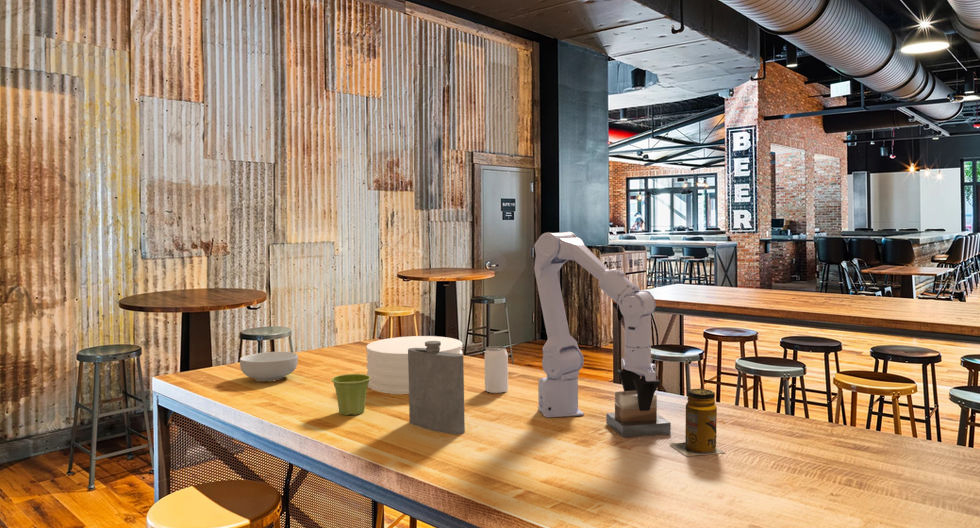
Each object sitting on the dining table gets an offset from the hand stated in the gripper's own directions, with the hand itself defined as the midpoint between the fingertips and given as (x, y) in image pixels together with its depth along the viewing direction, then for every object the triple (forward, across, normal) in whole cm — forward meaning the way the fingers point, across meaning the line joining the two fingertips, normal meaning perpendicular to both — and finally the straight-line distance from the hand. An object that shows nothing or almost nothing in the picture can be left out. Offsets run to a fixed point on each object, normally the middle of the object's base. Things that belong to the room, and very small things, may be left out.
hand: (637, 405), depth 147 cm
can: (+6, +40, +24) cm, 47 cm away
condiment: (+6, -15, -6) cm, 17 cm away
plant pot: (+6, +28, +64) cm, 70 cm away
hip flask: (+6, +11, +44) cm, 46 cm away
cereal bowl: (+6, +70, +89) cm, 113 cm away
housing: (+3, 0, 0) cm, 3 cm away
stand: (+5, 0, 0) cm, 5 cm away
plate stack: (+6, +56, +46) cm, 72 cm away
